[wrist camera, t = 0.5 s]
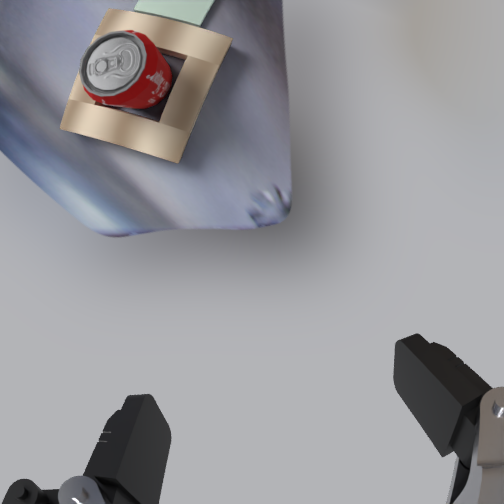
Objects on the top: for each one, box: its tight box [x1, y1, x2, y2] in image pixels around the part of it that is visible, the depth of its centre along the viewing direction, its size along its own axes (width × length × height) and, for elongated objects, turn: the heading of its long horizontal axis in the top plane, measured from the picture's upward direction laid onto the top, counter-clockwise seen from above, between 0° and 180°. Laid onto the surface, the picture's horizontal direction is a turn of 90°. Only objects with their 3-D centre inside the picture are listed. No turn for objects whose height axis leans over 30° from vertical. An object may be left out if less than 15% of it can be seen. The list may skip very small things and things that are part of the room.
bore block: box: [60, 8, 233, 163], centre depth 24 cm, size 14×14×3 cm
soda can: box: [79, 30, 173, 109], centre depth 20 cm, size 6×6×12 cm
